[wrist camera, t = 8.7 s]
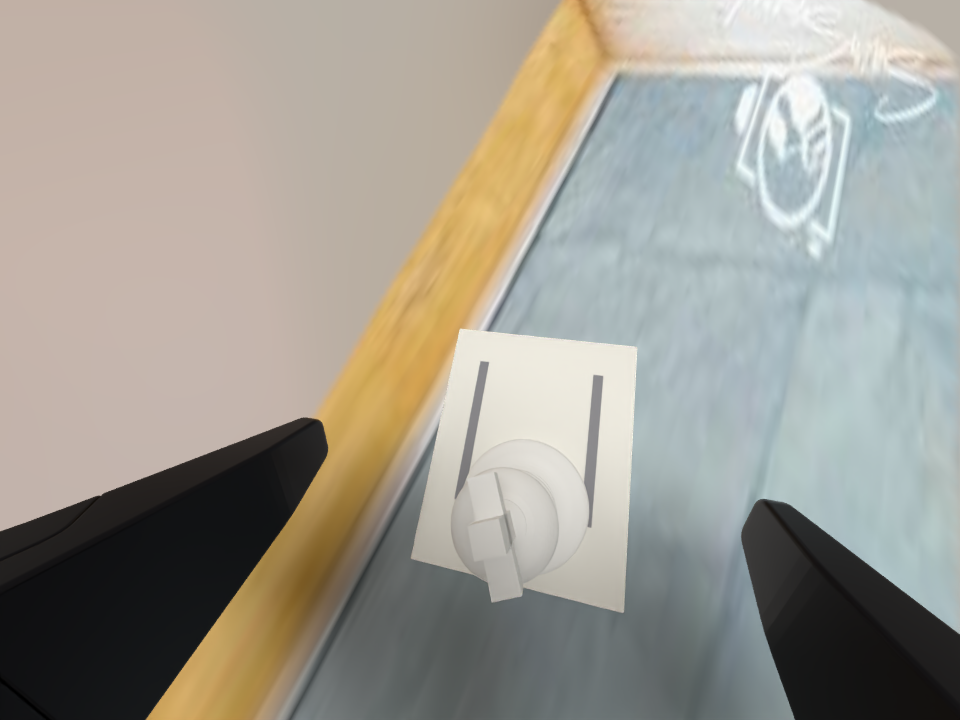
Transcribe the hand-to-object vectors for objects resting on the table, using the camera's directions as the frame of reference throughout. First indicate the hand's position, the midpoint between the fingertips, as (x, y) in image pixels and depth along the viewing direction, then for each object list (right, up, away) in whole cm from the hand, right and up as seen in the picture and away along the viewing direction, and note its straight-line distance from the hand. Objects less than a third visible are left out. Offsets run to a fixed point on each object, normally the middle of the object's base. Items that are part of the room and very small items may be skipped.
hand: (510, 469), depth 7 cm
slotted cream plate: (+1, -1, +8) cm, 8 cm away
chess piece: (+1, -3, +7) cm, 8 cm away
